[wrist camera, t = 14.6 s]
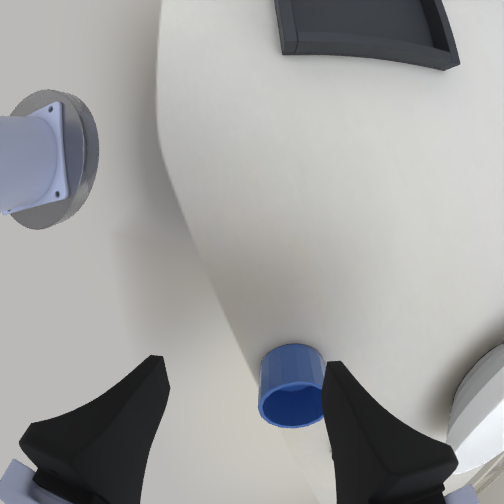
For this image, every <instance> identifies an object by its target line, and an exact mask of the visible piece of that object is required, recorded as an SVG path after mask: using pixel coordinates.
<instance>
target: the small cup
mask: <svg viewBox="0 0 504 504" xmlns="http://www.w3.org/2000/svg"><path fill="white" fill-rule="evenodd" d="M325 371H326V368H325V364H324V361H323V359H322V356H321V355H320V354H319V353H318V352H317V351H316V350H315V349H313V348H311V347H309V346H306V345H302V344H288V345H284V346H280V347H278V348H276V349H274V350H272V351H271V352H269V353H268V354H267V355H266V356H265V357H264V359H263V360H262V362H261V365H260V372H259V394H258V409H259V412H260V415H261V417H262V418H263V419H265V420H266V421H267V422H268V423H269V424H272V425H275V426H278V427H282V428H299V427H305V426H309V425H311V424H313V423H316V422H318V421H320V420H321V419H322V418H323V417H324V416H323V410H322V401H321V390H322V385H323V380H324V376H325Z"/></svg>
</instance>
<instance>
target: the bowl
mask: <svg viewBox="0 0 504 504" xmlns="http://www.w3.org/2000/svg"><path fill="white" fill-rule="evenodd" d="M446 444H448V445H451V447H452V449H453V451H454V452H455V455H456V457H457V459H458V462H459V464H458V467H457V469H456V470H455V471H454V472H453V473H452V474H459V473H464V472H467V471H469V470H472V469H474V468H476V467H478V466H480V465H482V464H484V463H486V462H487V461H489V460H491V459H492V458H494V457H495V456H497V455H498V454H500V453H501V452H502V451H504V343H502V344H500V345H498V346H497V347H495V348H494V349H492V350H491V351H489V352H488V353H487V354H486V355H485V356H483V357H482V358H481V359H480V360H479V361H478V362H477V363H476V364H475V366H474V367H473V368H472V369H471V370H470V371H469V372H468V374H467V375H466V376H465V378H464V379H463V381H462V382H461V384H460V385H459V387H458V389H457V391H456V394H455V396H454V402H453V406H452V409H451V413H450V423H449V427H448V432H447V439H446Z"/></svg>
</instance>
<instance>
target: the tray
mask: <svg viewBox="0 0 504 504" xmlns="http://www.w3.org/2000/svg"><path fill="white" fill-rule="evenodd" d="M274 2H275V8H276V14H277V20H278V27H279V34H280V41H281V48H282V55H341V56H355V57H366V58H376V59H384V60H391V61H398V62H404V63H409V64H415V65H420V66H425V67H430V68H434V69H438V70H443V71H445V70H447V69H450V68H452V67H455V66H457V65H460V60H459V56H458V52H457V48H456V44H455V40H454V37H453V33H452V30H451V27H450V24H449V21H448V18H447V15H446V12H445V9H444V6H443V3H442V1H441V0H274Z"/></svg>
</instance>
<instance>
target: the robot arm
mask: <svg viewBox="0 0 504 504" xmlns="http://www.w3.org/2000/svg"><path fill="white" fill-rule="evenodd" d="M52 108H53V110H52ZM51 110H52V112H51ZM58 192H59V193H60V196H58ZM68 195H69V190H68V183H67V175H66V166H65V156H64V143H63V126H62V104H61V102H58V101H56V102H54V103H52V104H49V105H47V106H45V107H43V108H41V109H39V110H37V111H35V112H33V113H32V114H30V115H28V116H26V117H17V116H0V212H2V214H3V215H7V214H11V213H14V212H17V211H21V210H24V209H28V208H32V207H35V206H39V205H43V204H47V203H51V202H55V201H59V200H63V199H66V198H67V197H68ZM169 392H170V385H169V381H168V377H167V372H166V368H165V363H164V359H163V356H154V355H150V356H149V357H148V358H146V359H145V360H144V361H143V362H142V363H141V364H140V365H138V366H137V367H136V368H135V369H134V370H133V371H132V372H131V373H129V374H128V375H127V376H126V377H125V378H124V379H122V380H121V381H120V382H119V383H117V384H116V385H115V386H113V387H112V388H111V389H109V390H108V391H107V392H106V393H104V394H102V395H101V396H99V397H98V398H96V399H94V400H93V401H91V402H89V403H87V404H85V405H83V406H81V407H79V408H77V409H75V410H73V411H71V412H68V413H66V414H63V415H61V416H58V417H55V418H51V419H48V420H44V421H39V422H35V423H31V424H30V426H29V427H28V429H27V430H26V432H25V433H24V435H23V436H22V438H21V440H20V441H19V445H20V447H21V449H22V451H23V452H24V453H25V454H26V455H27V456H28V458H29V459H30V460H31V461H32V462H33V463H34V464H35V465H36V466H37V467H38V469H37V471H36V472H34V471H33V470H32V469H31V468H29V467H27V466H26V465H24V464H22V463H21V462H19V461H18V460H16V459H13V460H12V462H11V463H10V465H9V467H8V468H7V470H6V471H5V473H4V475H3V477H2V478H1V480H0V499H1V500H2V501H3V502H4V503H6V504H140V498H141V491H142V485H143V478H144V473H145V469H146V464H147V459H148V455H149V451H150V448H151V445H152V442H153V439H154V437H155V434H156V431H157V429H158V426H159V424H160V421H161V419H162V416H163V413H164V411H165V408H166V404H167V401H168V396H169ZM321 401H322V410H323V416H324V420H325V424H326V428H327V432H328V436H329V440H330V444H331V448H332V453H333V459H334V468H335V478H336V494H337V504H480V503H479V500H478V498H477V496H476V493H475V491H474V488H473V486H472V484H468V485H467V486H464V487H462V488H460V489H458V490H456V491H453V492H451V493H449V494H448V495H446V496H443V493H442V492H443V491H444V490H445V487H444V484H443V482H444V481H445V480H446V479H447V478H448V477H449V476H450V475H451V474H452V473H453V472H454V471H455V470H456V469H457V467H458V464H459V462H458V459H457V457H456V455H455V452H454V451H453V449H452V447H451V445H448V444H445V443H442V442H440V441H437V440H435V439H432V438H430V437H428V436H426V435H424V434H422V433H420V432H418V431H416V430H414V429H413V428H411V427H409V426H408V425H406V424H405V423H403V422H401V421H400V420H399V419H397V418H396V417H394V416H393V415H392V414H391V413H389V412H388V411H387V410H386V409H384V408H383V407H382V406H381V405H380V404H379V403H378V402H377V401H376V400H375V399H374V398H373V397H372V396H371V395H370V394H369V393H368V392H367V391H366V390H365V389H364V388H363V387H362V386H361V384H360V383H359V382H358V381H357V380H356V379H355V377H354V376H353V375H352V374H351V373H350V371H349V370H348V369H347V368H346V366H345V365H344V364H343V363H342V362H341V361H329V362H327V366H326V371H325V376H324V380H323V385H322V390H321Z"/></svg>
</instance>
